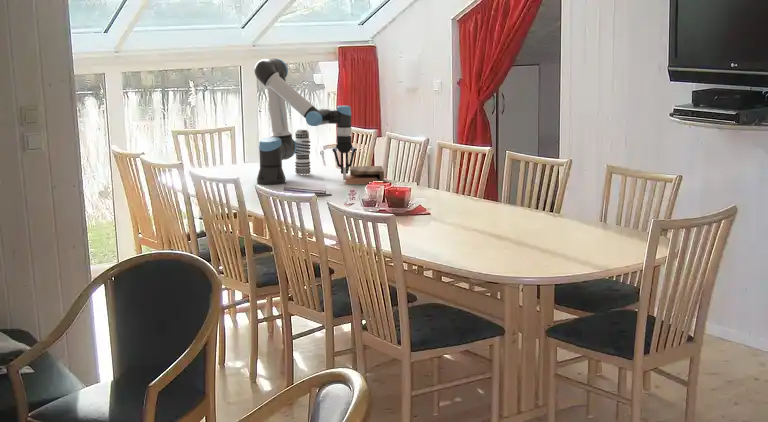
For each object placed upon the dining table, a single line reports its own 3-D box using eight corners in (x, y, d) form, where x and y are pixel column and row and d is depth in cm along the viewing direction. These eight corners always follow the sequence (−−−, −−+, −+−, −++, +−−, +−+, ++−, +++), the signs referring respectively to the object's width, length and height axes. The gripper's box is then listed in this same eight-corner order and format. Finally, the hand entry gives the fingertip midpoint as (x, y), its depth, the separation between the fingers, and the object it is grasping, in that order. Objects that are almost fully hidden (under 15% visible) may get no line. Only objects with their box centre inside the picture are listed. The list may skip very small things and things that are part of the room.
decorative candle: (312, 173, 539) (311, 129, 535) (309, 175, 530) (308, 130, 526) (296, 173, 540) (295, 129, 536) (293, 175, 531) (292, 130, 527)
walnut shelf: (351, 185, 496) (351, 171, 494) (350, 179, 515) (350, 166, 514) (383, 184, 496) (383, 171, 495) (381, 178, 516) (381, 166, 515)
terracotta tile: (346, 184, 499) (346, 178, 499) (345, 181, 510) (345, 175, 509) (376, 183, 500) (376, 177, 499) (375, 180, 511) (375, 174, 510)
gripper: (331, 136, 497) (332, 181, 501) (356, 135, 497) (357, 180, 502) (331, 134, 504) (332, 178, 508) (356, 134, 505) (356, 178, 509)
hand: (344, 179), depth 505 cm, fingers closed
